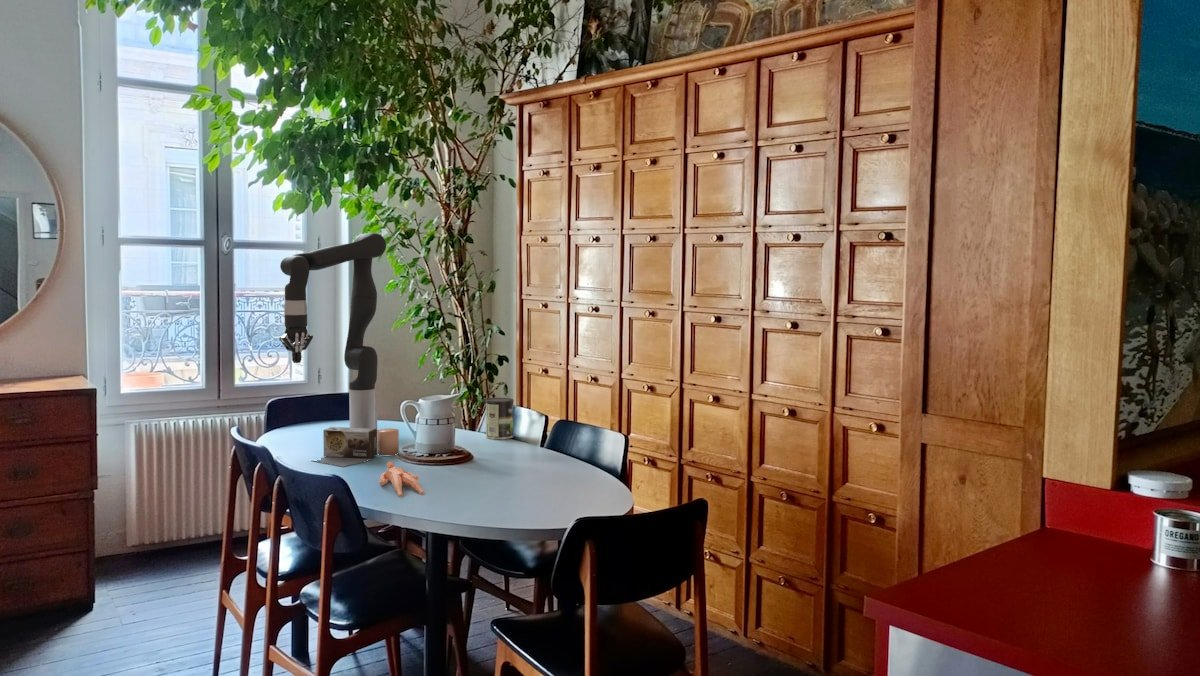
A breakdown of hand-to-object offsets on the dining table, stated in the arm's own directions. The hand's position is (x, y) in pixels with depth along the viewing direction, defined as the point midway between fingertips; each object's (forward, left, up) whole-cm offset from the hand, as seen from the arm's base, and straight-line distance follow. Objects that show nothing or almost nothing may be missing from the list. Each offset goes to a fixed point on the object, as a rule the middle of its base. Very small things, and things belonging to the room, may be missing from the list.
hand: (296, 362), depth 303 cm
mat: (+9, +33, -29) cm, 44 cm away
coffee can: (-51, +49, -29) cm, 77 cm away
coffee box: (+7, +23, -24) cm, 34 cm away
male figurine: (+21, +71, -29) cm, 80 cm away
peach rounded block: (-7, +37, -29) cm, 48 cm away
